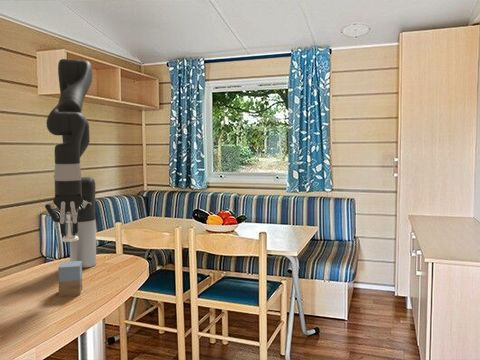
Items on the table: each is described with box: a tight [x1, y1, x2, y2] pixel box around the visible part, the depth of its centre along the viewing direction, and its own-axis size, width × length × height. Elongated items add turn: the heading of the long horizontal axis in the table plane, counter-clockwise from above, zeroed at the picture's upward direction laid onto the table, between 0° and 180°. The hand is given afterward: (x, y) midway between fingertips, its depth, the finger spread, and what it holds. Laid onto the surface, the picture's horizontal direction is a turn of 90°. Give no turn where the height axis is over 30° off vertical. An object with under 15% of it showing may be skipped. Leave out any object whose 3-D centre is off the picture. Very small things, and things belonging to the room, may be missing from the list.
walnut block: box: [58, 275, 83, 298], centre depth 129 cm, size 6×6×4 cm
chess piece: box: [61, 212, 78, 243], centre depth 128 cm, size 5×5×10 cm
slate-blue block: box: [57, 260, 83, 282], centre depth 129 cm, size 6×6×4 cm
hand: (69, 234), depth 128 cm, fingers closed on chess piece
